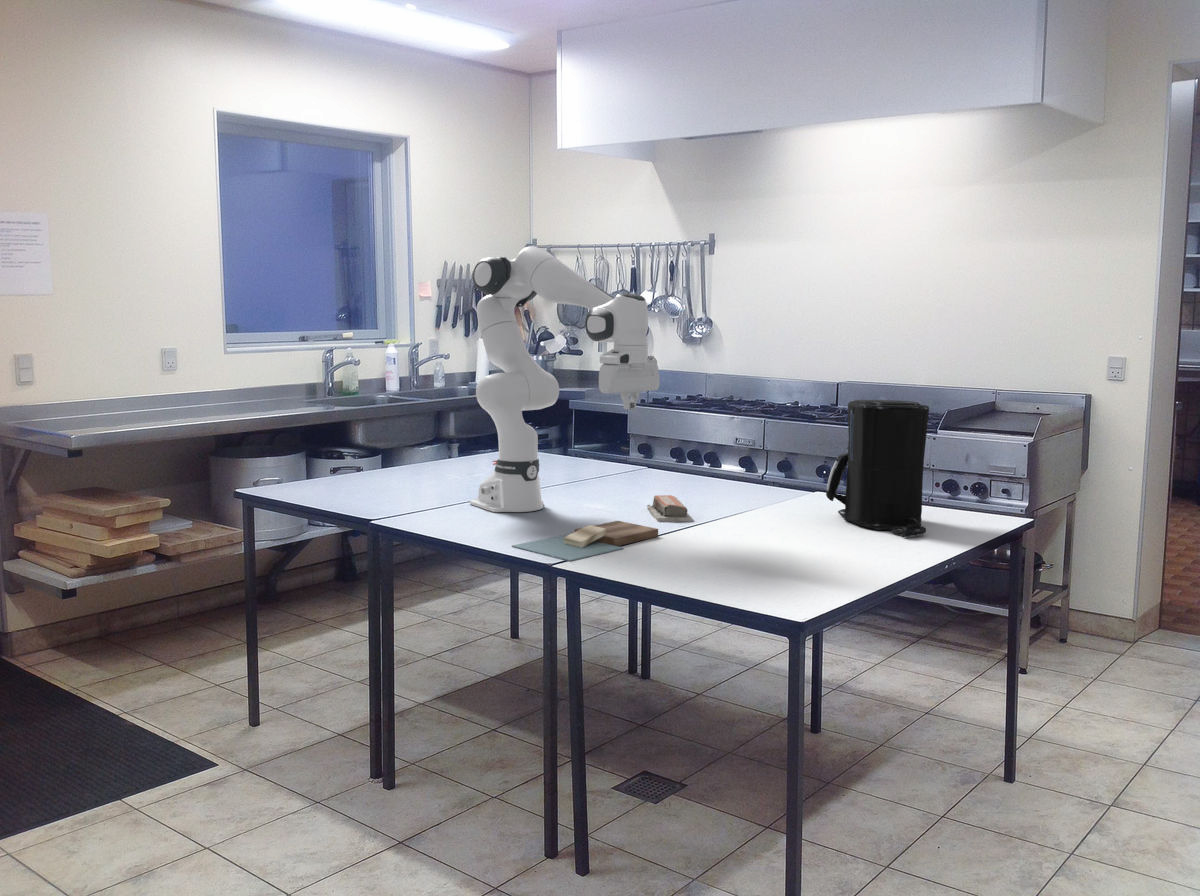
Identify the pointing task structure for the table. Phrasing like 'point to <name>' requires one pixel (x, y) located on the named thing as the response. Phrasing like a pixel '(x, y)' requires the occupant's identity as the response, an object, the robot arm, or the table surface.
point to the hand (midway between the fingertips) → (629, 409)
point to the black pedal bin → (883, 466)
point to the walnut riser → (625, 533)
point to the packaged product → (668, 509)
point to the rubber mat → (566, 548)
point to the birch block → (585, 536)
